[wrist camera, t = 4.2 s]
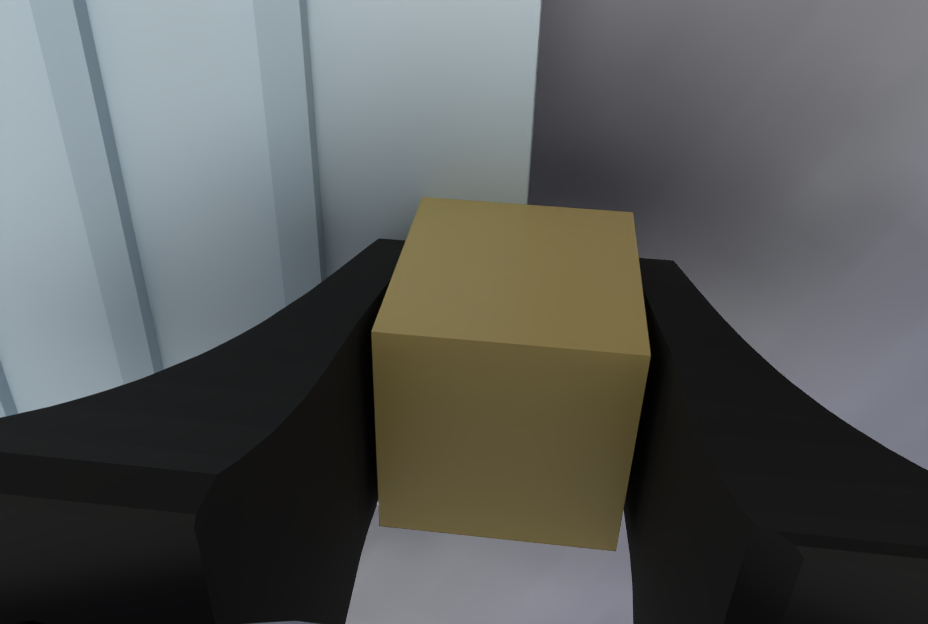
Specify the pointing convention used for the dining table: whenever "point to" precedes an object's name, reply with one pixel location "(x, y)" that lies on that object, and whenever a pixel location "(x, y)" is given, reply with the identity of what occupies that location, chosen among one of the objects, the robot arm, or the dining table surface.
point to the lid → (325, 234)
